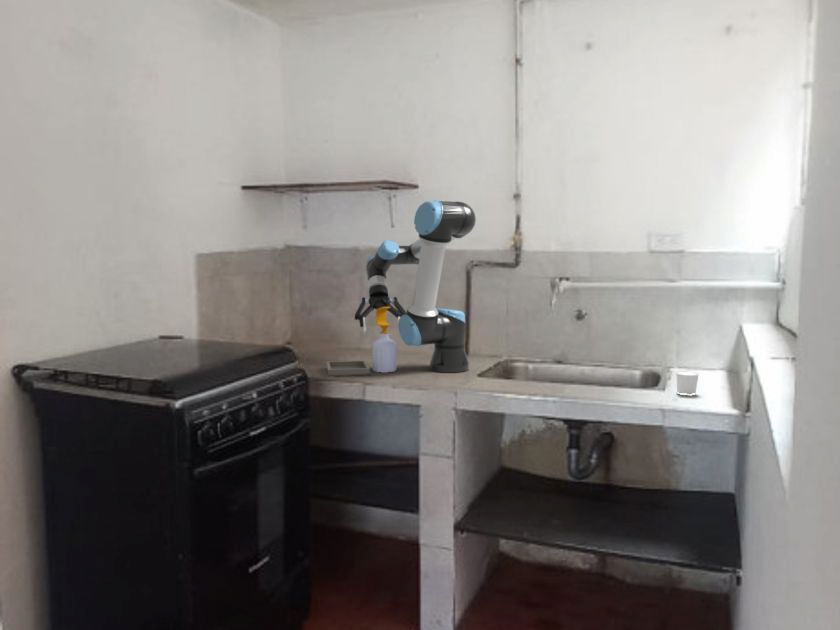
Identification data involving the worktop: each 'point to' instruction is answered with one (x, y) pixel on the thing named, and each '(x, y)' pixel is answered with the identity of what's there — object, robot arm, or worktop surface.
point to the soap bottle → (383, 346)
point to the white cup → (686, 382)
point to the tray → (347, 368)
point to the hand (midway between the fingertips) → (382, 332)
